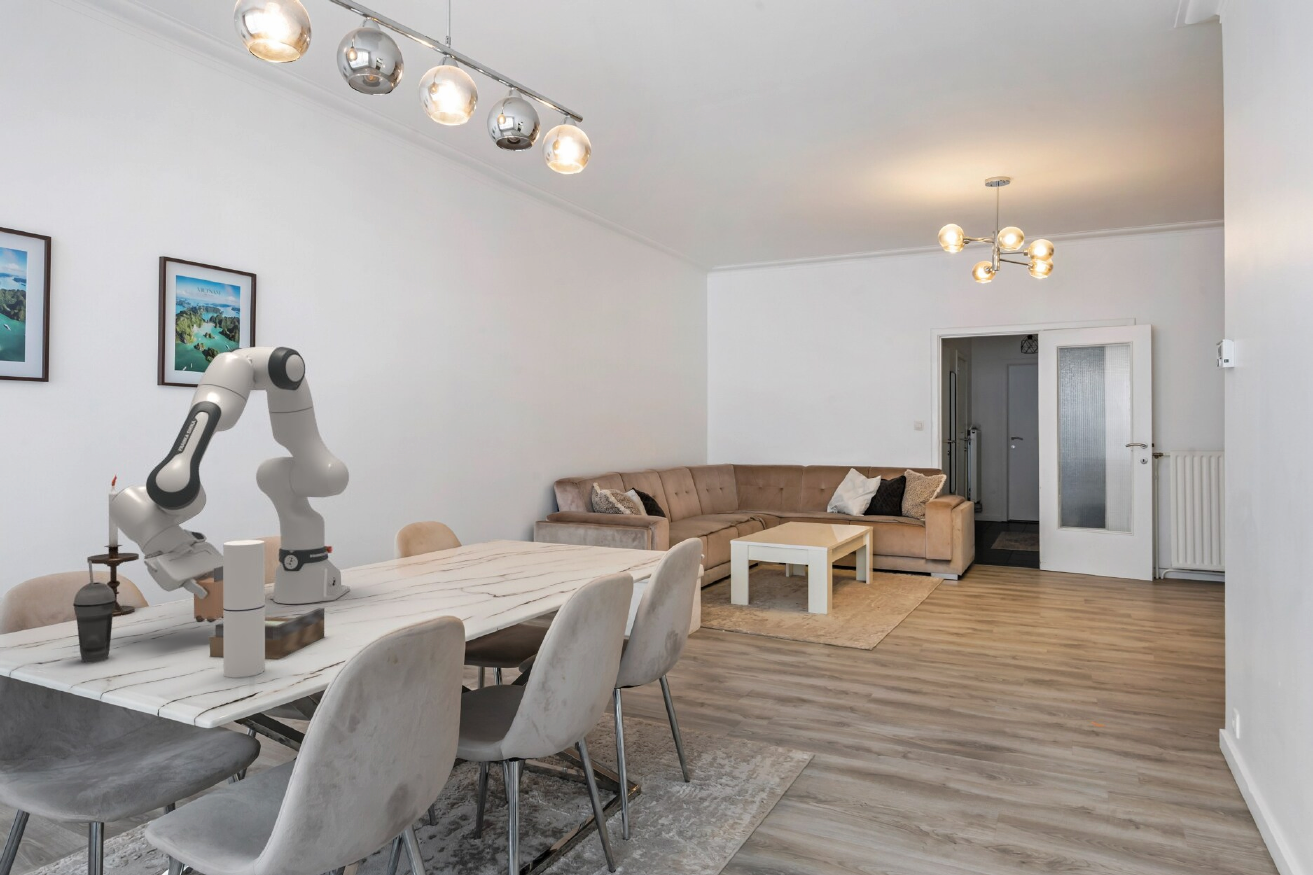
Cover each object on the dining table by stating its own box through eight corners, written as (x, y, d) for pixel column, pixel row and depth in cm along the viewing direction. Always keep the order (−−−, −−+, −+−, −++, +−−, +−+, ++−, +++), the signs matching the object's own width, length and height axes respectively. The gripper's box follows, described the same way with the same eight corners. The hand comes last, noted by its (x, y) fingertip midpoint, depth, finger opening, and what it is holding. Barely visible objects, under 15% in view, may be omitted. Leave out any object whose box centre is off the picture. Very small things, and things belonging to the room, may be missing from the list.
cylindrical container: (221, 679, 153) (221, 546, 153) (225, 668, 160) (224, 541, 160) (264, 674, 156) (264, 544, 156) (265, 664, 163) (265, 539, 162)
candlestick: (149, 608, 212) (148, 473, 211) (117, 618, 201) (116, 476, 201) (110, 607, 213) (109, 473, 212) (76, 617, 202) (75, 475, 202)
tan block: (209, 616, 183) (208, 564, 183) (230, 617, 183) (229, 564, 182) (194, 622, 178) (193, 568, 178) (215, 622, 178) (214, 568, 178)
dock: (262, 634, 186) (261, 605, 186) (324, 636, 185) (324, 607, 185) (209, 656, 168) (209, 624, 168) (278, 659, 167) (278, 627, 167)
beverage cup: (94, 665, 162) (94, 564, 161) (63, 663, 163) (63, 563, 163) (125, 655, 169) (125, 558, 169) (95, 653, 170) (95, 557, 170)
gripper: (149, 546, 170) (196, 593, 170) (206, 531, 190) (248, 574, 190) (129, 567, 170) (175, 614, 170) (188, 550, 191) (230, 593, 191)
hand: (214, 593), depth 180 cm, fingers closed on tan block, 5 cm apart
